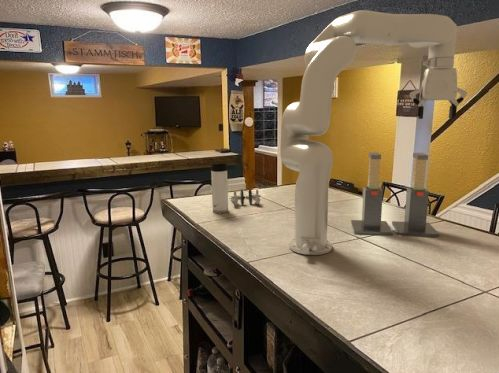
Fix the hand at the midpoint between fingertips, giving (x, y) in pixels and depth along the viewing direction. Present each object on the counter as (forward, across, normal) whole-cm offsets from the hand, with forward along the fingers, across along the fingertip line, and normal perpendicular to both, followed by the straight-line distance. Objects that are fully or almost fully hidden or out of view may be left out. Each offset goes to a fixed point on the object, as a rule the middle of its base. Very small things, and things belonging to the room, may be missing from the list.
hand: (435, 118), depth 126 cm
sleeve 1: (+36, -20, -8) cm, 42 cm away
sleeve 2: (+36, -6, -8) cm, 38 cm away
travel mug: (+36, -76, +7) cm, 85 cm away
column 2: (+30, -6, -8) cm, 32 cm away
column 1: (+30, -20, -8) cm, 37 cm away
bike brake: (+37, -69, +24) cm, 82 cm away
